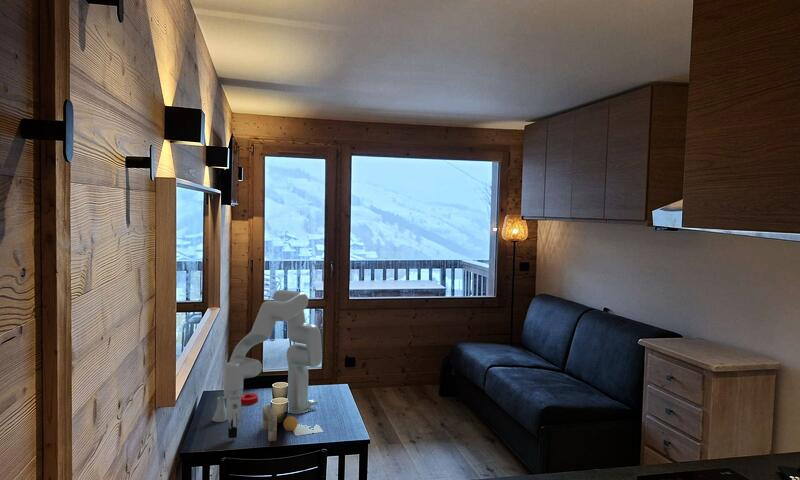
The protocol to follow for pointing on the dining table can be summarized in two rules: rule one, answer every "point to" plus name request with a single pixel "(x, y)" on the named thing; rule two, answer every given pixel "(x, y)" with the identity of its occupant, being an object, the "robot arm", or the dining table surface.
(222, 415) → the flask
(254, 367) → the robot arm
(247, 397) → the decorative ornament
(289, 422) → the ball
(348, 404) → the dining table surface
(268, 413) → the bridge
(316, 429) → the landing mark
